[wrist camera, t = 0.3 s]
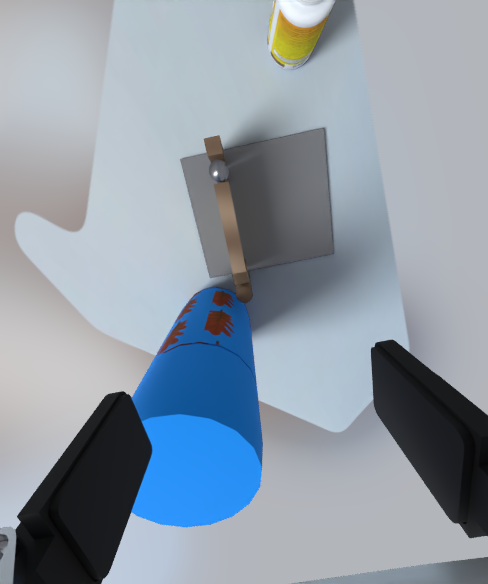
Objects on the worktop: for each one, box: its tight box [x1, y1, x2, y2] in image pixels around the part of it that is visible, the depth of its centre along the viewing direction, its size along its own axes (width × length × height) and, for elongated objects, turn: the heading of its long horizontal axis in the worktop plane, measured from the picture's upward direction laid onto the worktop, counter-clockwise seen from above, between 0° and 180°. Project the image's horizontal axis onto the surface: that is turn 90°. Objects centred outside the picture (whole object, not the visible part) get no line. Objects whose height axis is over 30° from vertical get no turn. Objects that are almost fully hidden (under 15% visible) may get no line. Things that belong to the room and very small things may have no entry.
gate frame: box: [180, 128, 334, 303], centre depth 31 cm, size 18×19×8 cm
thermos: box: [131, 288, 263, 527], centre depth 28 cm, size 11×11×25 cm
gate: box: [209, 160, 249, 285], centre depth 31 cm, size 14×2×8 cm, turn 11°
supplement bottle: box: [268, 0, 335, 70], centre depth 24 cm, size 6×6×10 cm
